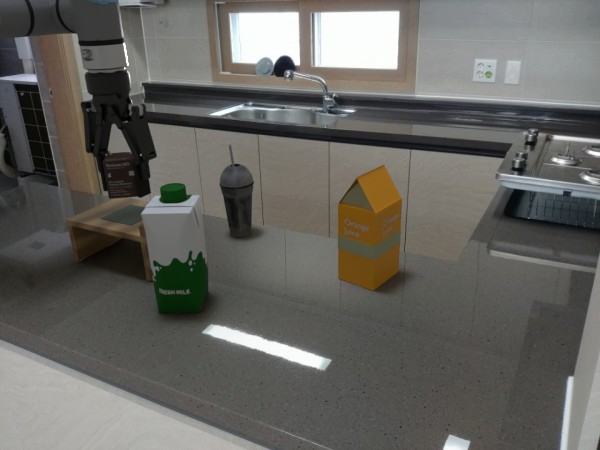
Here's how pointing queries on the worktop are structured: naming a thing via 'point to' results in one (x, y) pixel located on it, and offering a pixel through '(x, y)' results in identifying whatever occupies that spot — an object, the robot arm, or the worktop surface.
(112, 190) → the box
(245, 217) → the beverage cup
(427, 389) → the worktop surface
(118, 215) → the shelf
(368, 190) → the orange juice
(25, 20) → the robot arm
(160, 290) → the milk carton
